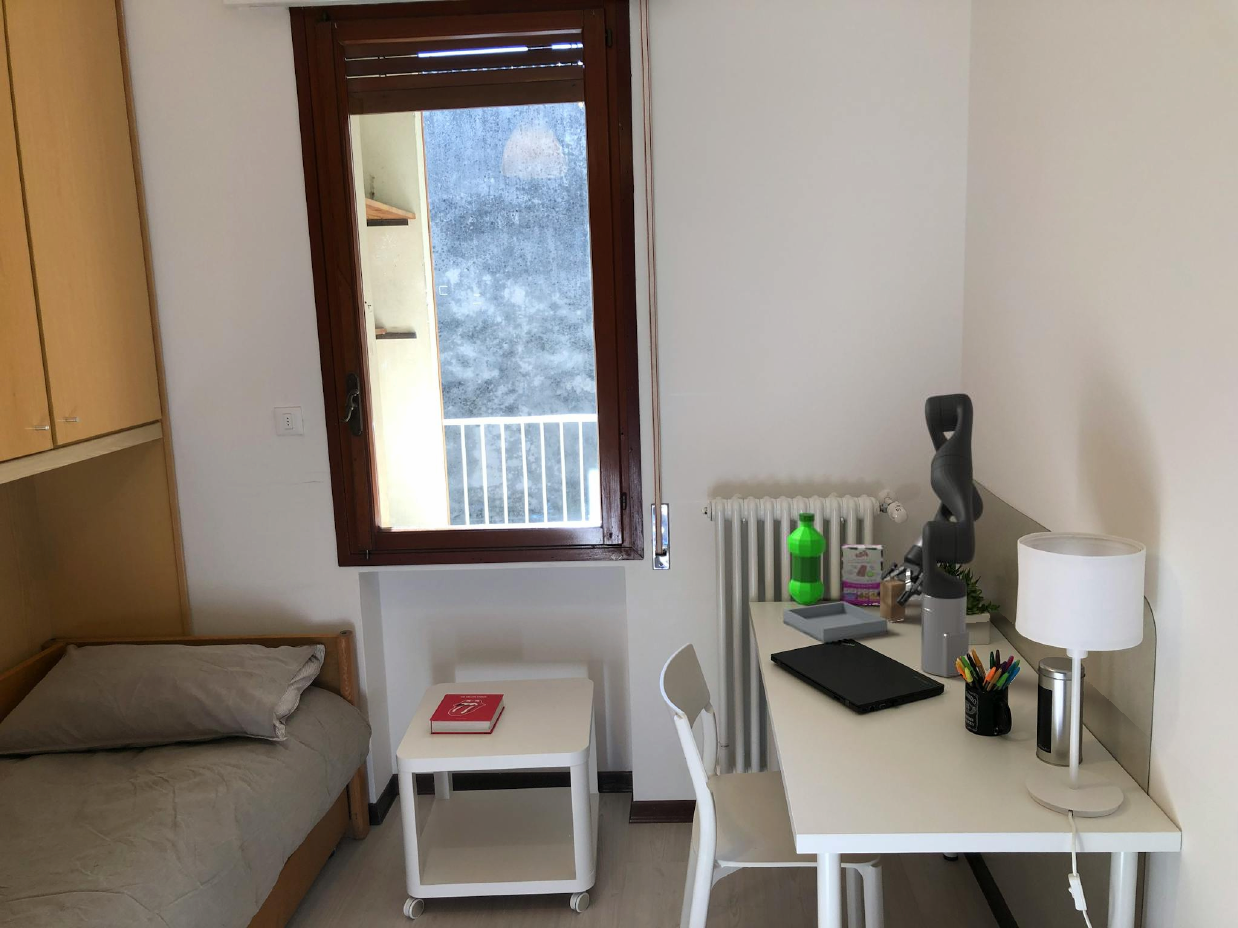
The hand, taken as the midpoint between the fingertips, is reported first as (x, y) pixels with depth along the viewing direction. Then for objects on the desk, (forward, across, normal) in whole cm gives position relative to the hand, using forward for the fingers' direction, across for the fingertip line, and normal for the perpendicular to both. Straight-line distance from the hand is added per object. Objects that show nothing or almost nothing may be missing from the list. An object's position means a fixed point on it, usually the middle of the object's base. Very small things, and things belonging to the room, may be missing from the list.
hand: (888, 600), depth 245 cm
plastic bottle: (+11, -24, -3) cm, 26 cm away
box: (+16, 0, -8) cm, 18 cm away
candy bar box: (+2, -16, +6) cm, 17 cm away
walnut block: (+3, 0, +5) cm, 5 cm away
